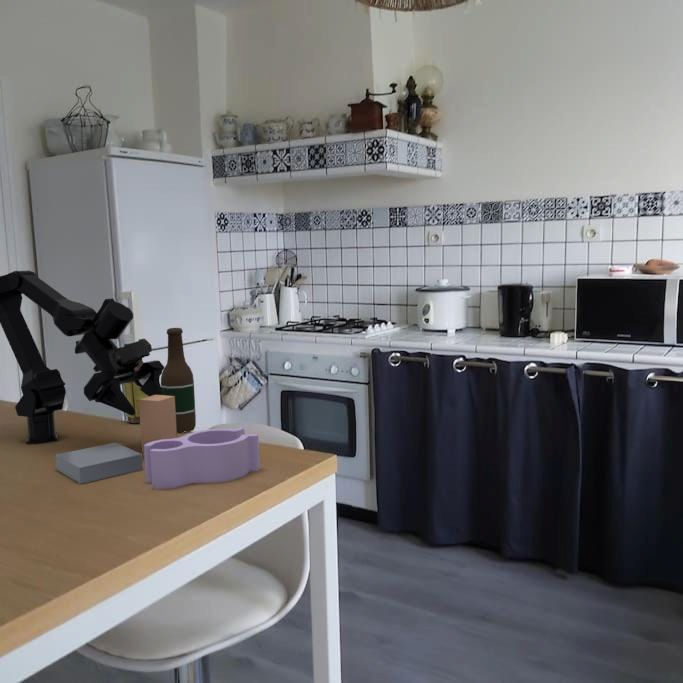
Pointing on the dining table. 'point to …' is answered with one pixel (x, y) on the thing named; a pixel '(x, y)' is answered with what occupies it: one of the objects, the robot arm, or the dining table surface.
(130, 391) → the sauce bottle
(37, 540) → the dining table surface
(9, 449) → the dining table surface
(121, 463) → the plate
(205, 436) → the clip
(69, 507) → the dining table surface
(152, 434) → the tan block
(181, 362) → the beer bottle
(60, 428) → the dining table surface
